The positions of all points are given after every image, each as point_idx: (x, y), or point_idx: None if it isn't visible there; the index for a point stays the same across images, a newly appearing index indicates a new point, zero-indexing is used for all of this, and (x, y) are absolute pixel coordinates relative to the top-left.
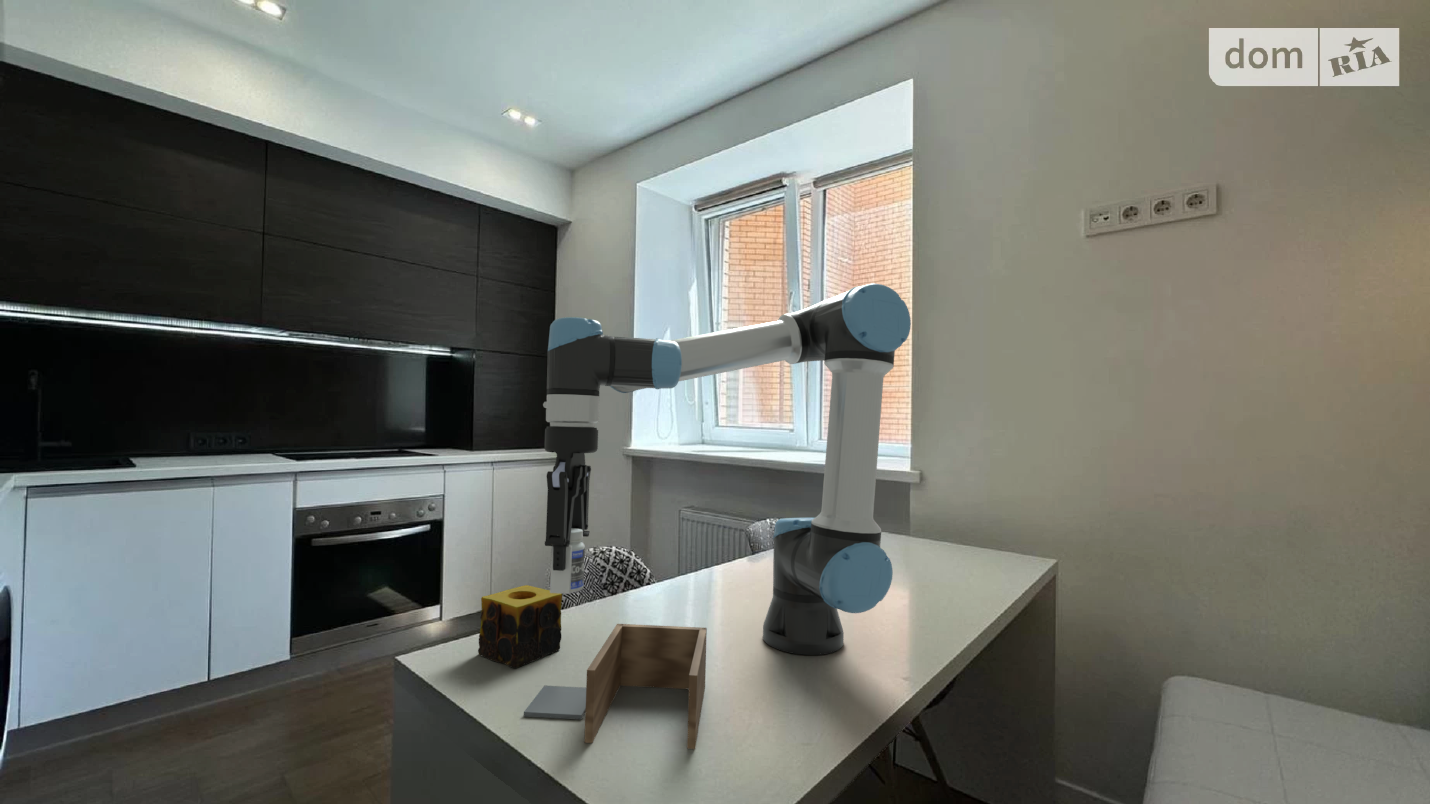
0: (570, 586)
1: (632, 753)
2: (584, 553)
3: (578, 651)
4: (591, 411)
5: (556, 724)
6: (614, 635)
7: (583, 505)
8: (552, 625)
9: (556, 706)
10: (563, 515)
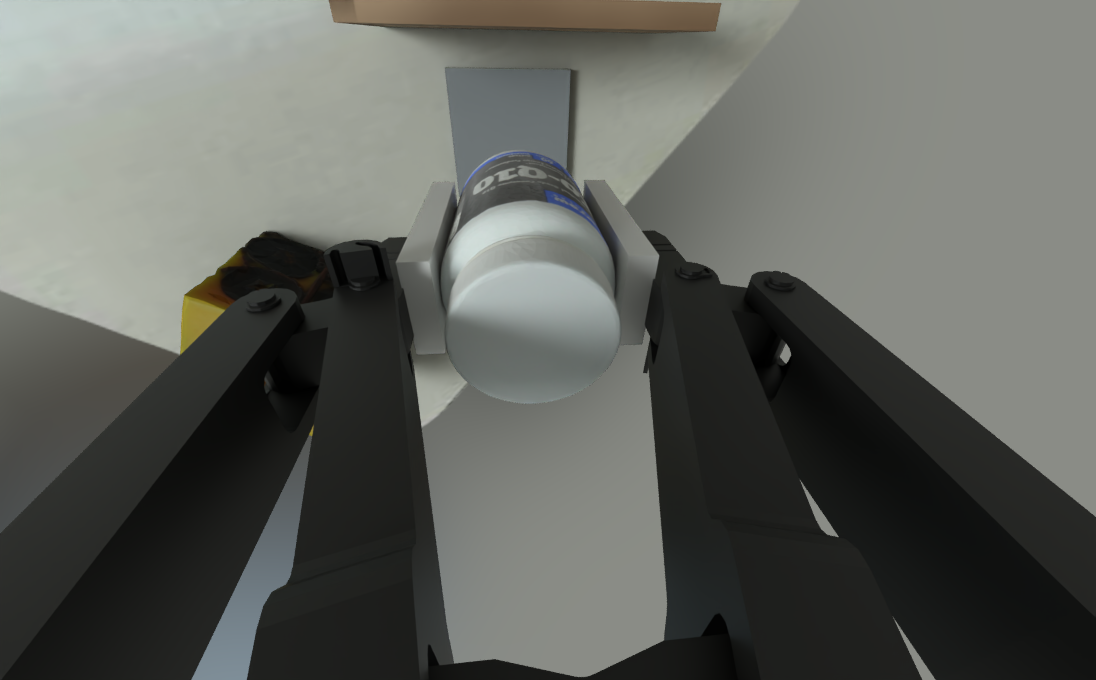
0: (592, 187)
1: None
2: (518, 191)
3: (250, 184)
4: None
5: (588, 119)
6: (448, 3)
7: (319, 428)
8: (264, 269)
9: (540, 139)
10: (930, 392)
